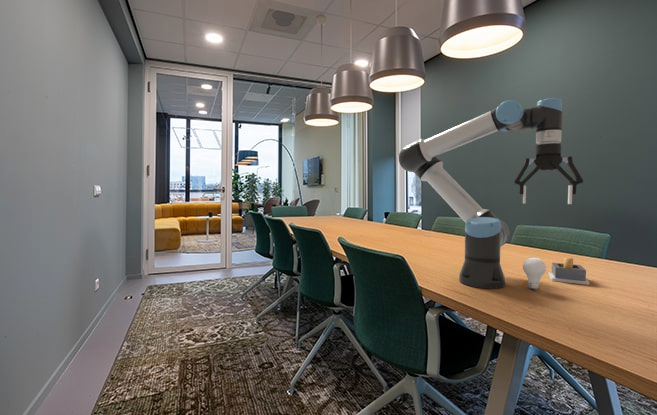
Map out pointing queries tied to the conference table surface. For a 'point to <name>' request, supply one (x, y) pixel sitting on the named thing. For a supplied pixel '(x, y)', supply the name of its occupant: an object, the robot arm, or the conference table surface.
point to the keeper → (568, 264)
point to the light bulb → (534, 271)
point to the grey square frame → (569, 272)
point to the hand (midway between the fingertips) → (546, 203)
